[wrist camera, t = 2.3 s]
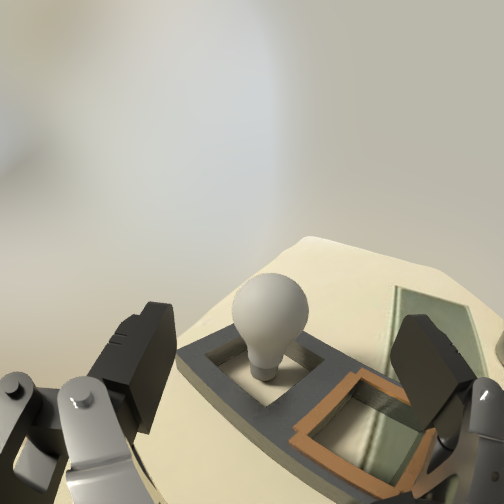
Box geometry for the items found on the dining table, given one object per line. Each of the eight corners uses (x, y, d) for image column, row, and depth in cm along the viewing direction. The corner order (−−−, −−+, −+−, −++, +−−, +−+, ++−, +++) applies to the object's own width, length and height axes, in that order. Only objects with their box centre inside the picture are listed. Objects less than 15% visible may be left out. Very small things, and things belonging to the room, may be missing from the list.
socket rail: (262, 325, 33) (264, 305, 32) (441, 425, 17) (456, 407, 16) (177, 368, 25) (173, 348, 24) (383, 528, 9) (402, 519, 8)
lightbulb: (293, 403, 22) (316, 303, 17) (225, 395, 22) (224, 293, 18) (295, 358, 27) (312, 264, 23) (237, 352, 28) (240, 257, 24)
